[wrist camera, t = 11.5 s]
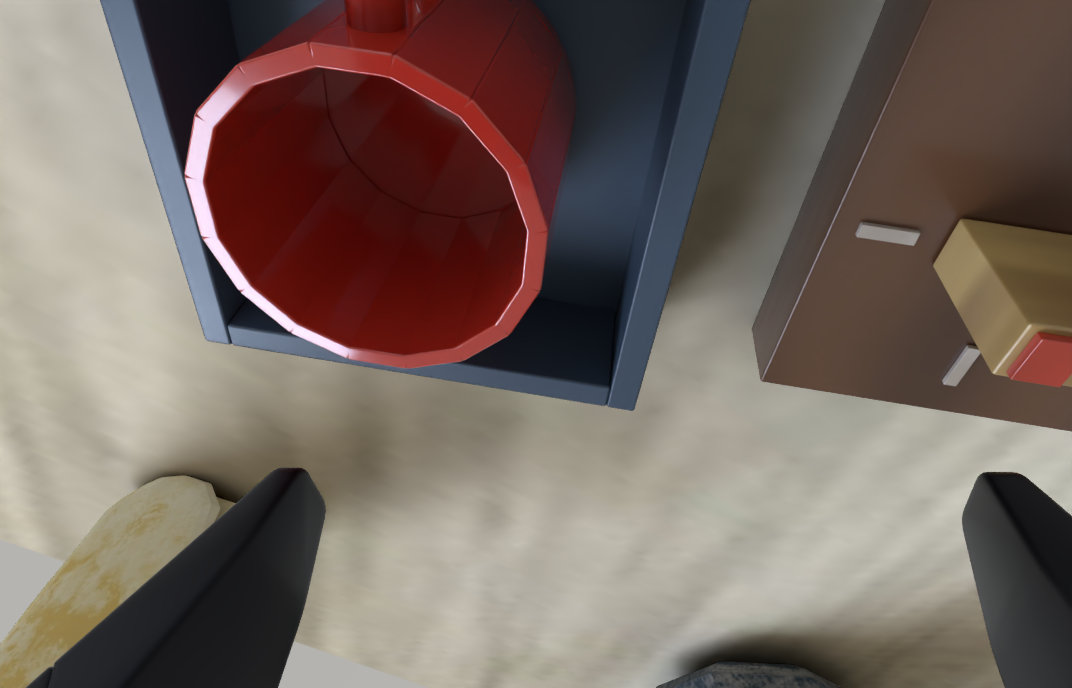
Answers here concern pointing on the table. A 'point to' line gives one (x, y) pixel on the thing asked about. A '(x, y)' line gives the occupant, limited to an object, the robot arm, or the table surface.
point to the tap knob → (1013, 297)
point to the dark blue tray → (587, 198)
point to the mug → (390, 174)
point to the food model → (108, 571)
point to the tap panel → (925, 207)
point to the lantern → (750, 677)
